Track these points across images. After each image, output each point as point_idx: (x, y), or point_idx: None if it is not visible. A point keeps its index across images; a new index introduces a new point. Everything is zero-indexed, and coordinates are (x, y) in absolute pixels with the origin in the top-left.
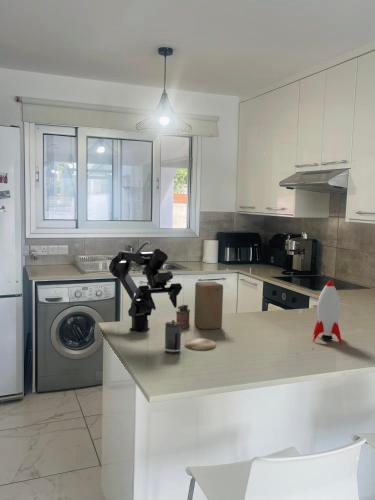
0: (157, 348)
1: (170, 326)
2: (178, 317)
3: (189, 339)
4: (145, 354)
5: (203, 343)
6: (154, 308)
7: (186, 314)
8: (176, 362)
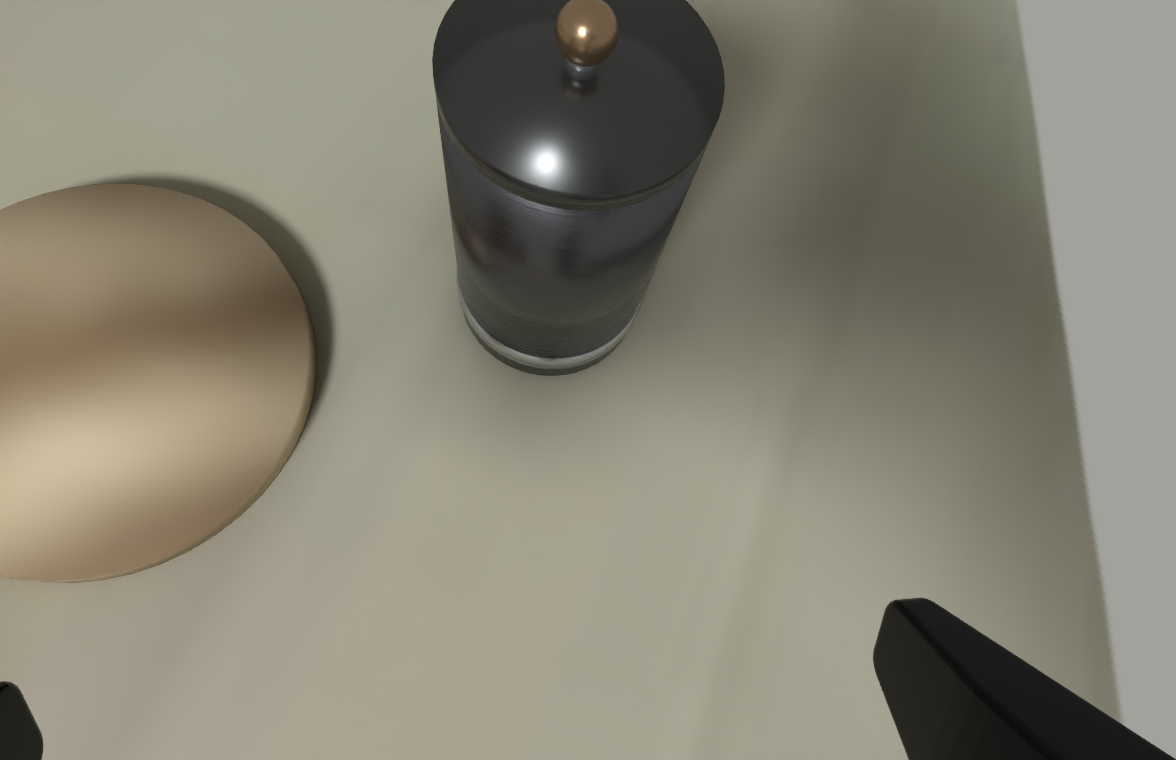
0: (667, 463)
1: (672, 5)
2: None
3: (128, 562)
4: (850, 323)
5: (71, 323)
6: (930, 624)
7: None
8: None
